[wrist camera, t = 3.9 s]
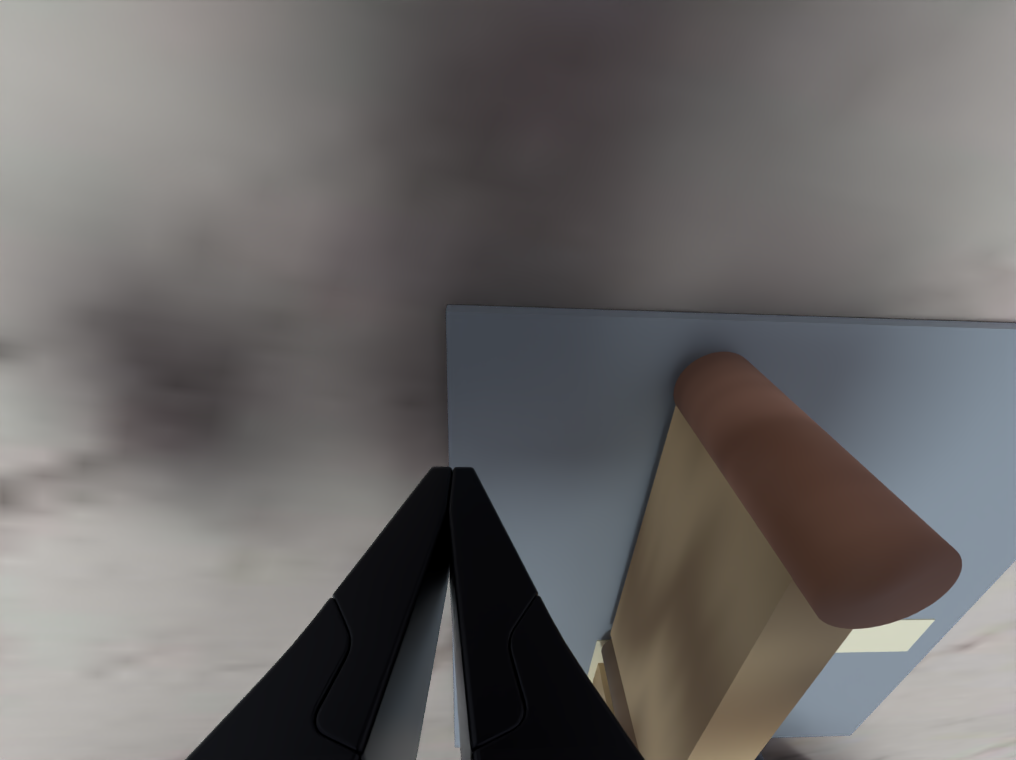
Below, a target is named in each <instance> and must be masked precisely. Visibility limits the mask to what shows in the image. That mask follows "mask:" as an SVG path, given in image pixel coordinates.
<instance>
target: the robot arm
mask: <svg viewBox="0 0 1016 760" xmlns="http://www.w3.org/2000/svg"><path fill="white" fill-rule="evenodd" d="M449 574H450V597H451V613H452V628H453V643H454V658H455V674H456V689H457V704H458V719H459V735H460V750H461V760H645V759H644V757H643V756H642V755H641V753H640V752H639V750H638V749H637V748H636V746H635V745H634V743H633V742H632V740H631V739H630V738H629V736H628V735H627V733H626V732H625V730H624V729H623V727H622V726H621V724H620V723H619V721H618V720H617V719H616V717H615V716H614V714H613V713H612V711H611V710H610V708H609V707H608V705H607V704H606V702H605V701H604V700H603V698H602V697H601V695H600V694H599V692H598V691H597V689H596V688H595V686H594V685H593V683H592V682H591V680H590V679H589V678H588V676H587V675H586V673H585V672H584V670H583V669H582V667H581V666H580V664H579V662H578V661H577V659H576V658H575V656H574V655H573V653H572V652H571V650H570V648H569V647H568V645H567V644H566V642H565V641H564V639H563V637H562V635H561V633H560V632H559V630H558V628H557V626H556V625H555V623H554V621H553V619H552V617H551V616H550V614H549V612H548V610H547V608H546V606H545V604H544V602H543V600H542V598H541V597H540V596H538V591H537V589H536V587H535V585H534V583H533V581H532V580H531V578H530V576H529V574H528V572H527V570H526V568H525V566H524V564H523V562H522V560H521V558H520V556H519V554H518V552H517V551H516V549H515V547H514V545H513V543H512V541H511V539H510V537H509V535H508V533H507V531H506V529H505V527H504V525H503V524H502V522H501V520H500V518H499V516H498V514H497V512H496V510H495V508H494V506H493V504H492V502H491V500H490V498H489V496H488V495H487V493H486V491H485V489H484V487H483V485H482V483H481V481H480V479H479V477H478V475H477V473H476V471H475V470H474V468H472V467H455V468H454V469H453V470H452V468H451V467H432V468H431V469H430V470H429V471H428V473H427V474H426V475H425V477H424V478H423V479H422V480H421V482H420V483H419V484H418V486H417V487H416V488H415V489H414V491H413V492H412V493H411V495H410V496H409V497H408V498H407V500H406V501H405V502H404V504H403V505H402V506H401V507H400V509H399V510H398V511H397V513H396V514H395V515H394V516H393V518H392V519H391V520H390V522H389V523H388V524H387V525H386V527H385V528H384V529H383V531H382V532H381V533H380V534H379V536H378V537H377V538H376V540H375V541H374V542H373V543H372V545H371V546H370V547H369V549H368V550H367V551H366V553H365V554H364V555H363V556H362V558H361V559H360V560H359V562H358V563H357V564H356V565H355V567H354V568H353V569H352V571H351V572H350V573H349V574H348V576H347V577H346V578H345V580H344V581H343V582H342V583H341V585H340V586H339V587H338V589H337V590H336V591H335V592H334V594H333V598H330V599H329V600H328V601H327V602H326V604H325V605H324V606H323V607H322V609H321V610H320V611H319V613H318V614H317V615H316V617H315V618H314V619H313V620H312V621H311V623H310V624H309V625H308V626H307V628H306V629H305V630H304V631H303V632H302V634H301V635H300V636H299V637H298V639H297V640H296V641H295V642H294V643H293V645H292V646H291V647H290V648H289V649H288V650H287V651H286V652H285V653H284V655H283V656H282V657H281V658H280V659H279V660H278V661H277V662H276V663H275V665H274V666H273V667H272V668H271V669H270V670H269V671H268V672H267V673H266V674H265V676H264V677H263V678H262V679H261V680H260V681H259V682H258V683H257V684H256V685H255V686H254V687H253V688H252V689H251V690H250V692H249V693H248V694H247V695H246V696H245V697H244V698H243V699H242V700H241V701H240V702H239V703H238V704H237V705H236V706H235V707H234V709H233V710H232V711H231V712H230V713H229V714H228V715H227V716H226V717H225V718H224V719H223V720H222V721H221V722H220V723H219V724H218V725H217V727H216V728H215V729H214V730H213V731H212V732H211V733H210V734H209V735H208V736H207V737H206V738H205V739H204V740H203V741H202V742H201V744H200V745H199V746H198V747H197V748H196V749H195V750H194V751H193V752H192V753H191V754H190V755H189V756H188V757H187V758H186V759H185V760H416V757H417V752H418V746H419V741H420V735H421V729H422V724H423V718H424V713H425V707H426V702H427V696H428V691H429V685H430V680H431V674H432V669H433V663H434V658H435V652H436V646H437V641H438V635H439V630H440V624H441V619H442V613H443V608H444V602H445V597H446V591H447V585H448V578H449Z"/></svg>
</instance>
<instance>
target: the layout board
mask: <svg viewBox="0 0 1016 760" xmlns="http://www.w3.org/2000/svg"><path fill="white" fill-rule="evenodd" d="M446 344H447V392H448V440H449V467H451V468H452V470H453V469H454V468H455V467H472V468H474V470H475V471H476V473H477V475H478V477H479V479H480V481H481V483H482V485H483V487H484V489H485V491H486V493H487V495H488V496H489V498H490V500H491V502H492V504H493V506H494V508H495V510H496V512H497V514H498V516H499V518H500V520H501V522H502V524H503V525H504V527H505V529H506V531H507V533H508V535H509V537H510V539H511V541H512V543H513V545H514V547H515V549H516V551H517V552H518V554H519V556H520V558H521V560H522V562H523V564H524V566H525V568H526V570H527V572H528V574H529V576H530V578H531V580H532V581H533V583H534V585H535V587H536V589H537V591H538V596H540V597H541V598H542V600H543V602H544V604H545V606H546V608H547V610H548V612H549V614H550V616H551V617H552V619H553V621H554V623H555V625H556V626H557V628H558V630H559V632H560V633H561V635H562V637H563V639H564V641H565V642H566V644H567V645H568V647H569V648H570V650H571V652H572V653H573V655H574V656H575V658H576V659H577V661H578V662H579V664H580V666H581V667H582V669H583V670H584V672H585V673H586V675H587V676H588V678H589V679H590V680H591V682H592V683H593V679H594V676H595V672H596V668H597V665H598V663H604V662H603V657H602V653H601V649H602V647H603V645H604V644H605V643H606V642H607V641H608V640H610V639H611V635H610V633H611V629H612V626H613V622H614V619H615V615H616V612H617V608H618V605H619V601H620V598H621V594H622V591H623V587H624V584H625V580H626V577H627V573H628V570H629V566H630V563H631V559H632V556H633V552H634V549H635V545H636V542H637V539H638V535H639V532H640V528H641V525H642V521H643V518H644V514H645V511H646V507H647V504H648V500H649V497H650V493H651V490H652V486H653V483H654V479H655V476H656V472H657V469H658V465H659V462H660V458H661V455H662V451H663V448H664V444H665V441H666V437H667V434H668V430H669V427H670V423H671V420H672V416H673V413H674V410H675V406H676V404H675V402H674V396H673V394H674V387H675V384H676V381H677V379H678V377H679V376H680V374H681V373H682V372H683V371H684V369H685V368H686V367H687V366H688V365H690V364H691V363H692V362H694V361H695V360H697V359H698V358H700V357H702V356H705V355H708V354H711V353H715V352H732V353H736V354H739V355H741V356H742V357H744V358H745V359H746V360H748V361H749V362H750V363H751V364H752V365H753V366H754V367H755V368H756V369H757V370H759V371H760V372H761V373H762V374H763V375H764V376H765V377H766V378H767V379H768V380H770V381H771V382H772V383H773V384H774V385H775V386H776V387H777V388H778V389H779V390H781V391H782V392H783V393H784V394H785V395H786V396H787V397H788V398H789V399H790V400H792V401H793V402H794V403H795V404H796V405H797V406H798V407H799V408H800V409H801V410H803V411H804V412H805V413H806V414H807V415H808V416H809V417H810V418H811V419H812V420H814V421H815V422H816V423H817V424H818V425H819V426H820V427H821V428H822V429H823V430H825V431H826V432H827V433H828V434H829V435H830V436H831V437H832V438H833V439H834V440H836V441H837V442H838V443H839V444H840V445H841V446H842V447H843V448H844V449H845V450H847V451H848V452H849V453H850V454H851V455H852V456H853V457H854V458H855V459H856V460H858V461H859V462H860V463H861V464H862V465H863V466H864V467H865V468H866V469H867V470H869V471H870V472H871V473H872V474H873V475H874V476H875V477H876V478H877V479H878V480H880V481H881V482H882V483H883V484H884V485H885V486H886V487H887V488H888V489H889V490H891V491H892V492H893V493H894V494H895V495H896V496H897V497H898V498H899V499H900V500H902V501H903V502H904V503H905V504H906V505H907V506H908V507H909V508H910V509H911V510H912V511H914V512H915V513H916V514H917V515H918V516H919V517H920V518H921V519H922V520H923V521H925V522H926V523H927V524H928V525H929V526H930V527H931V528H932V529H933V530H934V531H936V532H937V533H938V534H939V535H940V536H941V537H942V538H943V539H944V540H945V541H947V542H948V543H949V544H950V545H951V546H952V547H953V548H954V549H955V550H956V551H957V552H958V553H959V554H960V556H961V559H962V570H961V573H960V575H959V577H958V579H957V581H956V582H955V584H954V585H953V586H952V588H951V589H950V590H949V591H948V592H947V593H946V594H944V595H943V596H942V597H941V598H940V599H938V600H937V601H936V602H934V603H933V604H931V605H930V606H928V607H927V608H925V609H923V610H921V611H919V612H918V613H916V614H913V615H911V616H909V617H907V618H904V619H902V620H899V621H896V622H893V623H890V624H886V625H882V626H877V627H872V628H864V629H853V630H852V631H851V632H850V634H849V635H848V636H847V638H846V639H845V640H844V642H843V643H842V644H841V646H840V647H839V648H838V650H837V651H836V652H835V654H834V655H833V656H832V658H831V659H830V660H829V662H828V663H827V664H826V666H825V667H824V668H823V670H822V671H821V672H820V674H819V675H818V676H817V678H816V679H815V680H814V682H813V683H812V684H811V686H810V687H809V688H808V690H807V691H806V692H805V693H804V695H803V696H802V697H801V699H800V700H799V701H798V703H797V704H796V705H795V707H794V708H793V709H792V711H791V712H790V713H789V715H788V716H787V717H786V719H785V720H784V721H783V723H782V724H781V725H780V727H779V728H778V729H777V731H776V732H775V733H774V735H773V736H772V737H771V738H784V737H817V736H850V735H851V734H852V733H853V732H854V731H855V730H856V729H857V728H858V727H859V726H860V725H861V724H862V723H863V721H864V720H865V719H866V718H867V717H868V716H869V715H870V714H871V713H872V712H873V711H874V710H875V709H876V708H877V707H878V706H879V705H880V703H881V702H882V701H883V700H884V699H885V698H886V697H887V696H888V695H889V694H890V693H891V692H892V691H893V690H894V689H895V688H896V686H897V685H898V684H899V683H900V682H901V681H902V680H903V679H904V678H905V677H906V676H907V675H908V674H909V673H910V672H911V671H912V670H913V668H914V667H915V666H916V665H917V664H918V663H919V662H920V661H921V660H922V659H923V658H924V657H925V656H926V655H927V654H928V653H929V651H930V650H931V649H932V648H933V647H934V646H935V645H936V644H937V643H938V642H939V641H940V640H941V639H942V638H943V637H944V636H945V635H946V633H947V632H948V631H949V630H950V629H951V628H952V627H953V626H954V625H955V624H956V623H957V622H958V621H959V620H960V619H961V618H962V616H963V615H964V614H965V613H966V612H967V611H968V610H969V609H970V608H971V607H972V606H973V605H974V604H975V603H976V602H977V601H978V599H979V598H980V597H981V596H982V595H983V594H984V593H985V592H986V591H987V590H988V589H989V588H990V587H991V586H992V585H993V584H994V583H995V581H996V580H997V579H998V578H999V577H1000V576H1001V575H1002V574H1003V573H1004V572H1005V571H1006V570H1007V569H1008V568H1009V567H1010V566H1011V564H1012V563H1013V562H1014V561H1015V560H1016V323H1000V322H969V321H938V320H907V319H876V318H845V317H815V316H784V315H753V314H722V313H691V312H660V311H629V310H598V309H568V308H537V307H506V306H475V305H447V308H446ZM452 632H453V628H452ZM453 680H454V728H455V747H460V735H459V719H458V704H457V689H456V674H455V658H454V643H453Z"/></svg>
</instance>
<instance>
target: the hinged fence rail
mask: <svg viewBox="0 0 1016 760" xmlns="http://www.w3.org/2000/svg"><path fill="white" fill-rule="evenodd" d="M673 396H674V402H675V404H676V406H675V410H674V413H673V416H672V420H671V423H670V427H669V430H668V434H667V437H666V441H665V444H664V448H663V451H662V455H661V458H660V462H659V465H658V469H657V472H656V476H655V479H654V483H653V486H652V490H651V493H650V497H649V500H648V504H647V507H646V511H645V514H644V518H643V521H642V525H641V528H640V532H639V535H638V539H637V542H636V545H635V549H634V552H633V556H632V559H631V563H630V566H629V570H628V573H627V577H626V580H625V584H624V587H623V591H622V594H621V598H620V601H619V605H618V608H617V612H616V615H615V619H614V622H613V626H612V629H611V633H610V635H611V639H610V640H608V641H607V642H606V643H605V644H604V645H603V647H602V649H601V653H602V657H603V662H604V667H605V671H606V676H607V680H608V685H609V689H610V694H611V699H612V703H613V708H614V712H615V717H616V719H617V720H618V721H619V723H620V724H621V726H622V727H623V729H624V730H625V732H626V733H627V735H628V736H629V738H630V739H631V740H632V742H633V743H634V745H635V746H636V748H637V749H638V750H639V752H640V753H641V755H642V756H643V757H644V759H645V760H755V758H756V757H757V756H758V755H759V753H760V752H761V751H762V749H763V748H764V747H765V745H766V744H767V743H768V741H769V740H770V739H771V737H772V736H773V735H774V733H775V732H776V731H777V729H778V728H779V727H780V725H781V724H782V723H783V721H784V720H785V719H786V717H787V716H788V715H789V713H790V712H791V711H792V709H793V708H794V707H795V705H796V704H797V703H798V701H799V700H800V699H801V697H802V696H803V695H804V693H805V692H806V691H807V690H808V688H809V687H810V686H811V684H812V683H813V682H814V680H815V679H816V678H817V676H818V675H819V674H820V672H821V671H822V670H823V668H824V667H825V666H826V664H827V663H828V662H829V660H830V659H831V658H832V656H833V655H834V654H835V652H836V651H837V650H838V648H839V647H840V646H841V644H842V643H843V642H844V640H845V639H846V638H847V636H848V635H849V634H850V632H851V631H852V630H853V629H864V628H872V627H877V626H882V625H886V624H890V623H893V622H896V621H899V620H902V619H904V618H907V617H909V616H911V615H913V614H916V613H918V612H919V611H921V610H923V609H925V608H927V607H928V606H930V605H931V604H933V603H934V602H936V601H937V600H938V599H940V598H941V597H942V596H943V595H944V594H946V593H947V592H948V591H949V590H950V589H951V588H952V586H953V585H954V584H955V582H956V581H957V579H958V577H959V575H960V573H961V570H962V559H961V556H960V554H959V553H958V552H957V551H956V550H955V549H954V548H953V547H952V546H951V545H950V544H949V543H948V542H947V541H945V540H944V539H943V538H942V537H941V536H940V535H939V534H938V533H937V532H936V531H934V530H933V529H932V528H931V527H930V526H929V525H928V524H927V523H926V522H925V521H923V520H922V519H921V518H920V517H919V516H918V515H917V514H916V513H915V512H914V511H912V510H911V509H910V508H909V507H908V506H907V505H906V504H905V503H904V502H903V501H902V500H900V499H899V498H898V497H897V496H896V495H895V494H894V493H893V492H892V491H891V490H889V489H888V488H887V487H886V486H885V485H884V484H883V483H882V482H881V481H880V480H878V479H877V478H876V477H875V476H874V475H873V474H872V473H871V472H870V471H869V470H867V469H866V468H865V467H864V466H863V465H862V464H861V463H860V462H859V461H858V460H856V459H855V458H854V457H853V456H852V455H851V454H850V453H849V452H848V451H847V450H845V449H844V448H843V447H842V446H841V445H840V444H839V443H838V442H837V441H836V440H834V439H833V438H832V437H831V436H830V435H829V434H828V433H827V432H826V431H825V430H823V429H822V428H821V427H820V426H819V425H818V424H817V423H816V422H815V421H814V420H812V419H811V418H810V417H809V416H808V415H807V414H806V413H805V412H804V411H803V410H801V409H800V408H799V407H798V406H797V405H796V404H795V403H794V402H793V401H792V400H790V399H789V398H788V397H787V396H786V395H785V394H784V393H783V392H782V391H781V390H779V389H778V388H777V387H776V386H775V385H774V384H773V383H772V382H771V381H770V380H768V379H767V378H766V377H765V376H764V375H763V374H762V373H761V372H760V371H759V370H757V369H756V368H755V367H754V366H753V365H752V364H751V363H750V362H749V361H748V360H746V359H745V358H744V357H742V356H741V355H739V354H736V353H732V352H715V353H711V354H708V355H705V356H702V357H700V358H698V359H697V360H695V361H694V362H692V363H691V364H690V365H688V366H687V367H686V368H685V369H684V371H683V372H682V373H681V374H680V376H679V377H678V379H677V381H676V384H675V387H674V394H673Z"/></svg>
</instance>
